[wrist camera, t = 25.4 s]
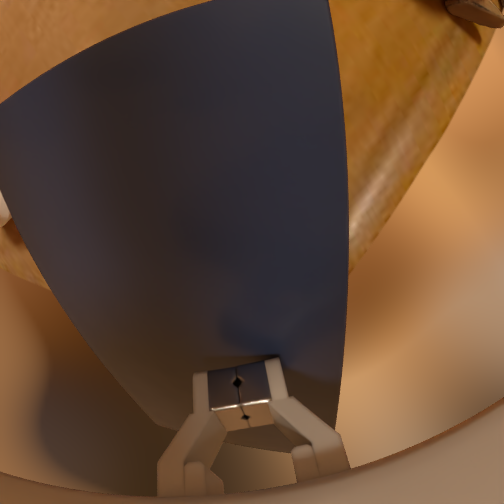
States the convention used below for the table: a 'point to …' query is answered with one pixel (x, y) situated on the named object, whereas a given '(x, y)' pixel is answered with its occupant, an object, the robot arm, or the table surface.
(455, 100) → the table surface
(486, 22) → the figurine
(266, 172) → the cover
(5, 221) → the chess pawn
